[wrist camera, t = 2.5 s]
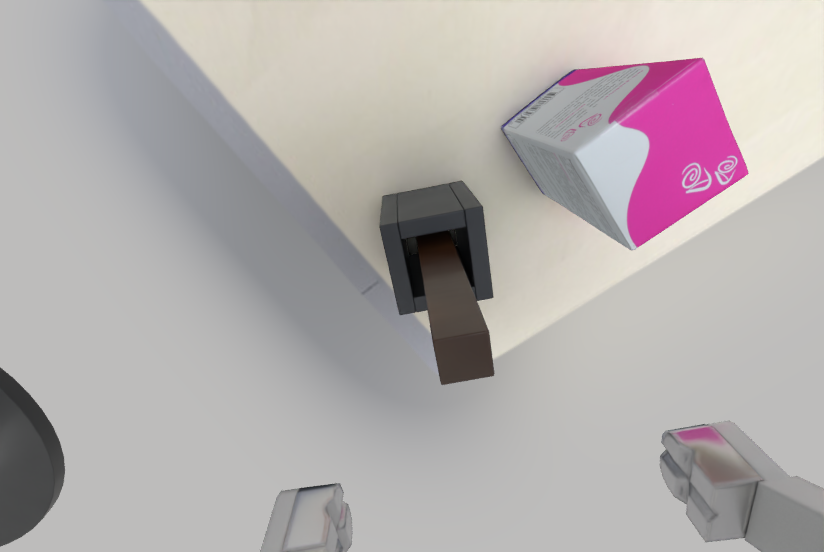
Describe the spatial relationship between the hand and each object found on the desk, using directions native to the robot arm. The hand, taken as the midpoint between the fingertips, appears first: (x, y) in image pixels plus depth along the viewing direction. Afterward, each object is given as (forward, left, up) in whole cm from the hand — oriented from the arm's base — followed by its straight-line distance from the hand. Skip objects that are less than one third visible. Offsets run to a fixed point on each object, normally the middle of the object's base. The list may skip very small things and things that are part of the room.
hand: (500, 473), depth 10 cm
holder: (0, 0, -21) cm, 21 cm away
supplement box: (+9, +5, -21) cm, 23 cm away
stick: (0, 0, -21) cm, 21 cm away
